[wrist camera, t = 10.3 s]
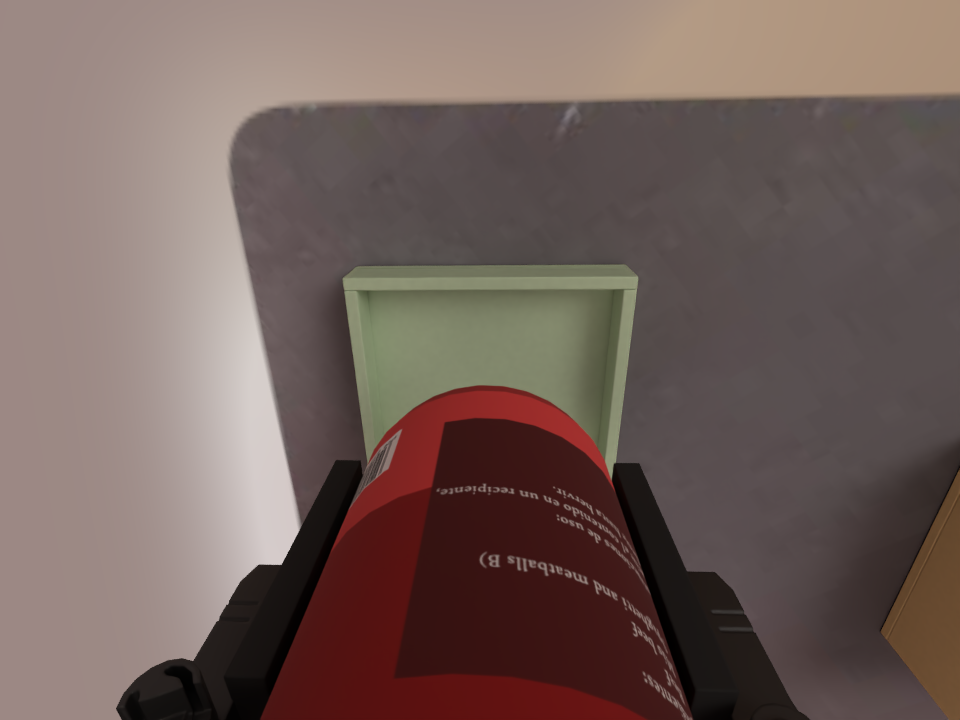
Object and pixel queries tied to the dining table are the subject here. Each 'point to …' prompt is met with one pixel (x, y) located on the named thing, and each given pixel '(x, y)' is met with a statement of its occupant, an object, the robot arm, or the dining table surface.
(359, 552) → the canned food
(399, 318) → the tray
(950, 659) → the open wooden box
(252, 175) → the dining table surface
